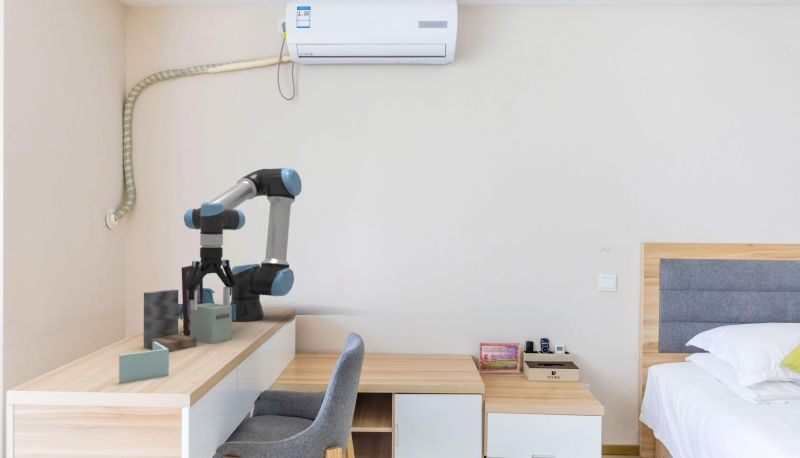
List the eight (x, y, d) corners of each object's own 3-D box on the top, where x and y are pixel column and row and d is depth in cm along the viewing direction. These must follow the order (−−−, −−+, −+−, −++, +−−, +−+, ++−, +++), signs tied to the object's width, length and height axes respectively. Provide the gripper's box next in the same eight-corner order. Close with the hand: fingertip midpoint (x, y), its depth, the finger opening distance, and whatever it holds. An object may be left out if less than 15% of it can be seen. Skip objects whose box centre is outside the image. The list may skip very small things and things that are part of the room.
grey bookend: (173, 341, 190) (174, 289, 190) (196, 346, 183) (196, 292, 183) (143, 347, 181) (143, 292, 181) (166, 353, 174) (166, 296, 174)
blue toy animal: (243, 325, 220) (243, 287, 219) (235, 330, 211) (235, 290, 211) (175, 324, 222) (175, 286, 221) (164, 328, 213) (164, 289, 213)
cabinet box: (209, 335, 201) (209, 303, 200) (232, 340, 194) (233, 306, 193) (190, 339, 194) (190, 305, 194) (213, 344, 187) (213, 309, 187)
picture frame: (186, 337, 198) (187, 267, 197) (159, 336, 198) (159, 267, 198) (204, 328, 214) (204, 263, 214) (179, 327, 215) (179, 263, 214)
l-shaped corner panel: (155, 367, 159) (155, 341, 159) (168, 376, 149) (168, 349, 149) (109, 374, 151) (109, 347, 151) (120, 384, 142) (120, 355, 142)
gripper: (233, 245, 206) (232, 302, 206) (172, 246, 185) (171, 310, 185) (246, 246, 202) (245, 304, 202) (186, 247, 181) (185, 312, 181)
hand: (210, 307), depth 194 cm, fingers open, 13 cm apart
